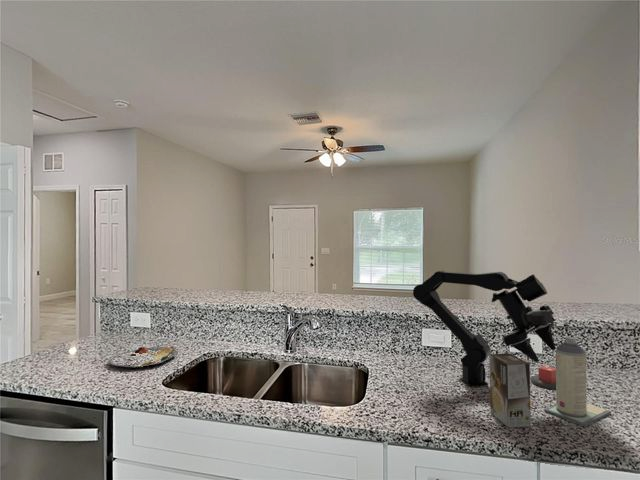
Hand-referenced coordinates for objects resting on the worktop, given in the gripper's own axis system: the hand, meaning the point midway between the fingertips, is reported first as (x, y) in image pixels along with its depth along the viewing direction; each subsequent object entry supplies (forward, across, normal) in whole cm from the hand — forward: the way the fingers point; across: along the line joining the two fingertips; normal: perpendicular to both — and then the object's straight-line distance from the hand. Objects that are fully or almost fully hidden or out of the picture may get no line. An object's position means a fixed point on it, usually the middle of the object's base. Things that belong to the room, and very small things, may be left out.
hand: (546, 355), depth 112 cm
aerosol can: (+14, -8, -4) cm, 16 cm away
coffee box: (+8, -25, +1) cm, 26 cm away
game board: (+15, -6, -3) cm, 16 cm away
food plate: (-59, -102, +85) cm, 145 cm away
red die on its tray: (+10, +8, +12) cm, 18 cm away
